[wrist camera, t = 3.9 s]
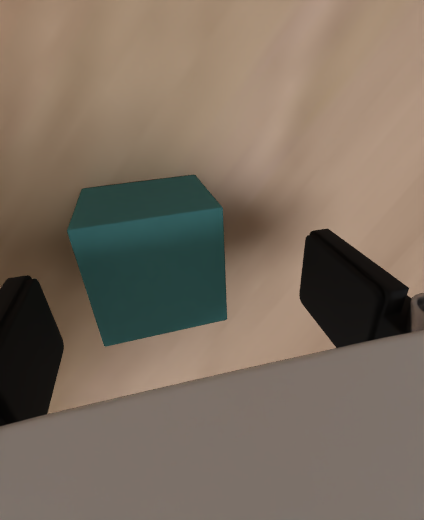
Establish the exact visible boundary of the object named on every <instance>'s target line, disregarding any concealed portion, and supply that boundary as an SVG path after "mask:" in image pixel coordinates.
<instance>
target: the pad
mask: <svg viewBox="0 0 424 520" xmlns="http://www.w3.org/2000/svg"><path fill="white" fill-rule="evenodd" d="M67 233H68V236H69V239H70V242H71V245H72V248H73V251H74V254H75V257H76V260H77V263H78V267H79V270H80V273H81V276H82V279H83V282H84V285H85V288H86V291H87V294H88V297H89V301H90V304H91V307H92V310H93V313H94V316H95V319H96V322H97V325H98V328H99V331H100V335H101V338H102V341H103V344H104V346H110V345H115V344H119V343H124V342H128V341H133V340H137V339H142V338H146V337H151V336H155V335H160V334H164V333H169V332H173V331H178V330H182V329H187V328H191V327H196V326H200V325H205V324H209V323H214V322H218V321H223V320H226V319H227V304H226V278H225V252H224V227H223V208H222V206H221V205H220V204H219V203H218V201H217V200H216V199H215V198H214V197H213V196H212V194H211V193H210V192H209V191H208V190H207V188H206V187H205V186H204V185H203V184H202V183H201V181H200V180H199V179H198V178H197V177H196V175H188V176H180V177H172V178H164V179H156V180H148V181H140V182H132V183H124V184H116V185H108V186H100V187H92V188H84V189H82V190H81V193H80V195H79V198H78V201H77V204H76V207H75V210H74V212H73V215H72V218H71V221H70V224H69V227H68V229H67Z"/></svg>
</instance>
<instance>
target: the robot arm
mask: <svg viewBox="0 0 424 520" xmlns="http://www.w3.org/2000/svg"><path fill="white" fill-rule="evenodd" d="M408 290H409V288H408V287H407V286H406V285H404V284H403V283H401V282H400V281H399V280H397V279H396V278H395V277H393V276H392V275H391V274H389V273H388V272H386V271H385V270H384V269H382V268H381V267H380V266H378V265H377V264H375V263H374V262H373V261H371V260H370V259H369V258H367V257H366V256H365V255H363V254H362V253H360V252H359V251H358V250H356V249H355V248H354V247H352V246H351V245H350V244H348V243H347V242H345V241H344V240H343V239H341V238H340V237H339V236H337V235H336V234H334V233H333V232H332V231H330V230H329V229H322V230H315V231H312V232H311V233H310V235H308V236H307V237H306V240H305V249H304V258H303V267H302V276H301V285H300V300H301V303H302V304H303V305H304V307H305V308H306V309H307V310H308V312H309V313H310V314H311V316H312V317H313V318H314V319H315V321H316V322H317V323H318V325H319V326H320V327H321V328H322V330H323V331H324V332H325V334H326V335H327V336H328V337H329V339H330V340H331V341H332V343H333V344H334V345H335V346H336V348H335V349H330V350H326V351H321V352H317V353H312V354H307V355H303V356H298V357H294V358H289V359H285V360H280V361H276V362H271V363H267V364H263V365H258V366H254V367H249V368H245V369H240V370H236V371H232V372H227V373H223V374H218V375H214V376H210V377H205V378H201V379H196V380H192V381H188V382H183V383H179V384H175V385H170V386H166V387H162V388H157V389H153V390H149V391H144V392H140V393H136V394H132V395H127V396H123V397H119V398H114V399H110V400H106V401H102V402H97V403H93V404H89V405H84V406H80V407H76V408H72V409H67V410H63V411H59V412H55V413H50V414H47V412H48V408H49V405H50V401H51V397H52V393H53V389H54V385H55V381H56V377H57V373H58V369H59V366H60V362H61V358H62V354H63V349H64V345H63V340H62V337H61V335H60V332H59V330H58V327H57V325H56V322H55V320H54V318H53V315H52V313H51V310H50V308H49V305H48V303H47V301H46V298H45V296H44V293H43V291H42V288H41V286H40V284H39V282H38V280H37V279H32V278H31V277H30V276H28V275H27V276H20V277H14V278H8V279H7V280H6V281H5V283H4V284H3V286H2V287H1V289H0V520H424V293H420V294H417V295H415V296H414V297H412V299H411V298H410V297H409V296H407V293H408Z"/></svg>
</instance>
